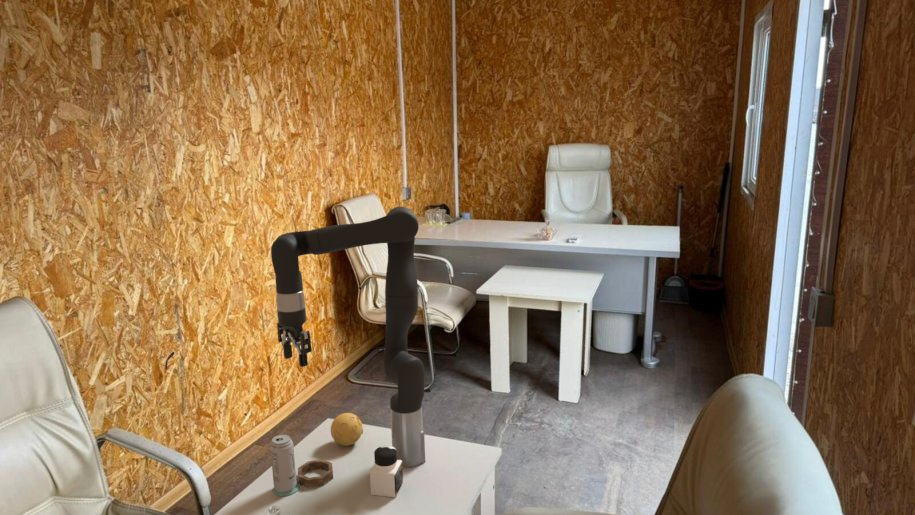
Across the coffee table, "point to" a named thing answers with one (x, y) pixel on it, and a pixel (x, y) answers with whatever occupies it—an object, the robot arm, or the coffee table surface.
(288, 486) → the energy drink can
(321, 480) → the collar
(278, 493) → the coaster
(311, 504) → the coffee table surface
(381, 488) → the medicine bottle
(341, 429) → the stress ball
